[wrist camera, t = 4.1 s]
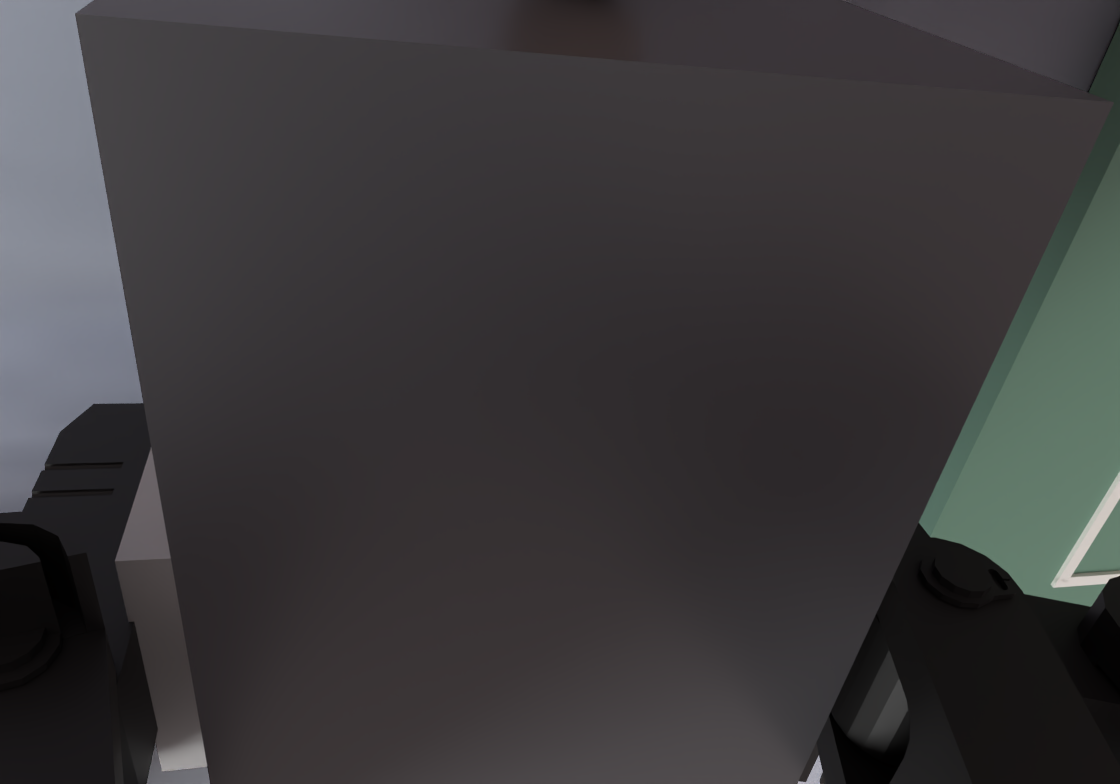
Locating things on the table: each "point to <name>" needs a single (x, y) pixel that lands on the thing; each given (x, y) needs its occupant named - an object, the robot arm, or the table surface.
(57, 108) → the table surface
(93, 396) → the table surface
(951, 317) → the block
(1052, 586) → the pin board
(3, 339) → the table surface
